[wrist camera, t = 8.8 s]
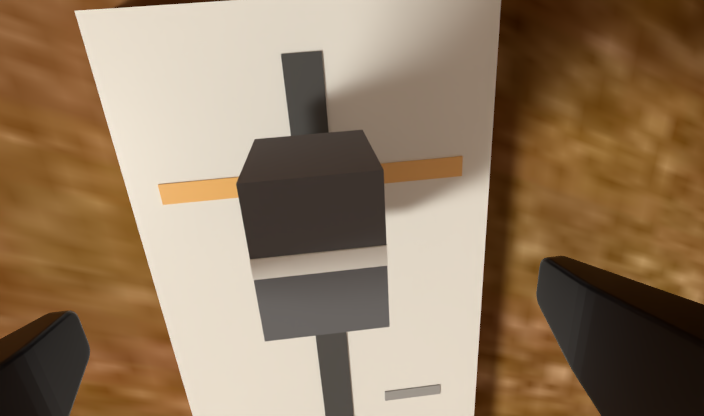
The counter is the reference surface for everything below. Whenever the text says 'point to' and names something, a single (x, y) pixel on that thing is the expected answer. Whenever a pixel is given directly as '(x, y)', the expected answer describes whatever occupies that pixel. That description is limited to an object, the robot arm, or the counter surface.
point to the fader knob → (316, 233)
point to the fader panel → (301, 119)
